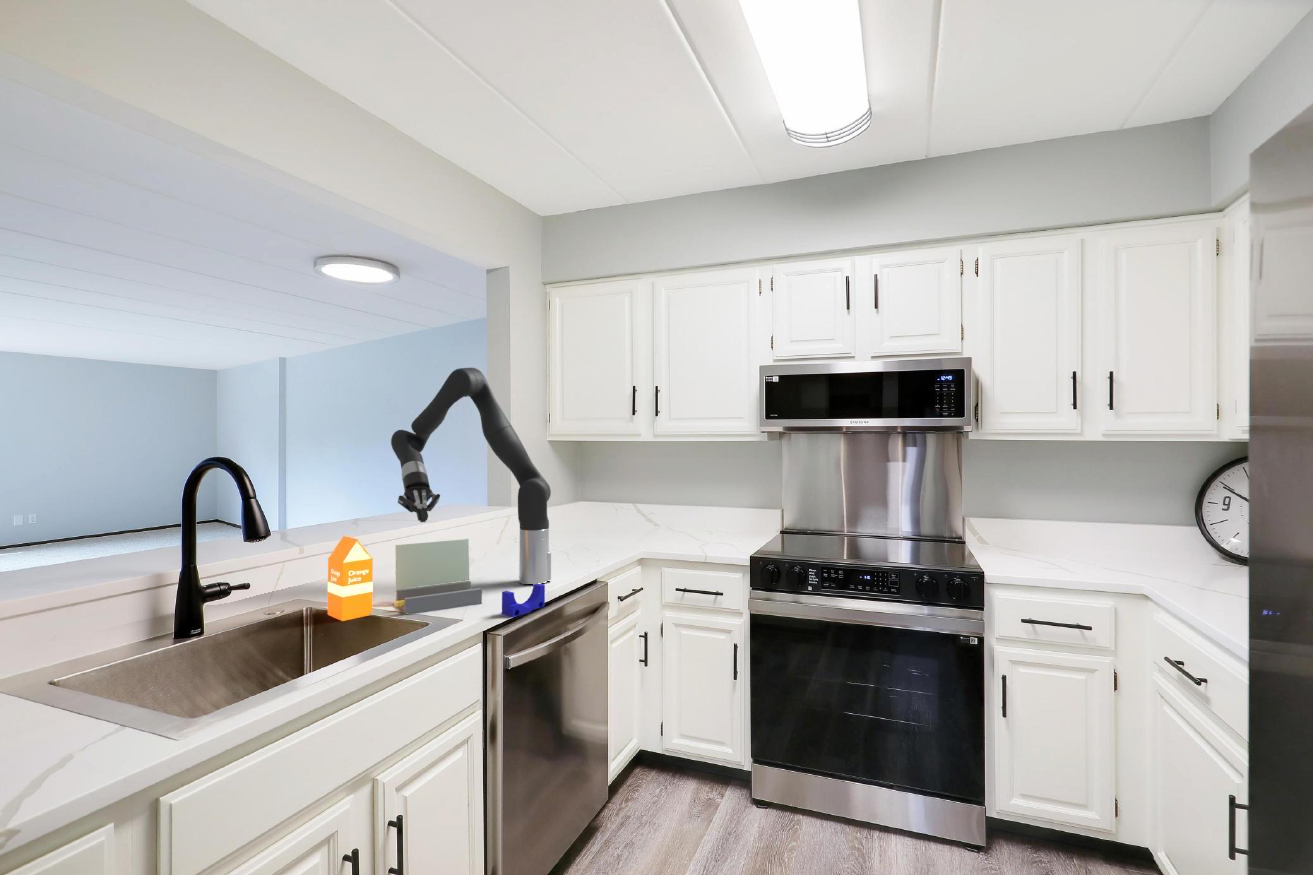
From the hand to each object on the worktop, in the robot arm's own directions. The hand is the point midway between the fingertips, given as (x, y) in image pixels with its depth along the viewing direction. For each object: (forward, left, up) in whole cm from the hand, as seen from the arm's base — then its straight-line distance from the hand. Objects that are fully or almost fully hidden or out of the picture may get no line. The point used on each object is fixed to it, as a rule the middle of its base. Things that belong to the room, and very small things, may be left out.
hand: (423, 520), depth 183 cm
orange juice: (+22, +18, -21) cm, 35 cm away
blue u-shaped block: (-18, +39, -21) cm, 48 cm away
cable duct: (0, +20, -21) cm, 29 cm away
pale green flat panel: (0, +13, -11) cm, 17 cm away
